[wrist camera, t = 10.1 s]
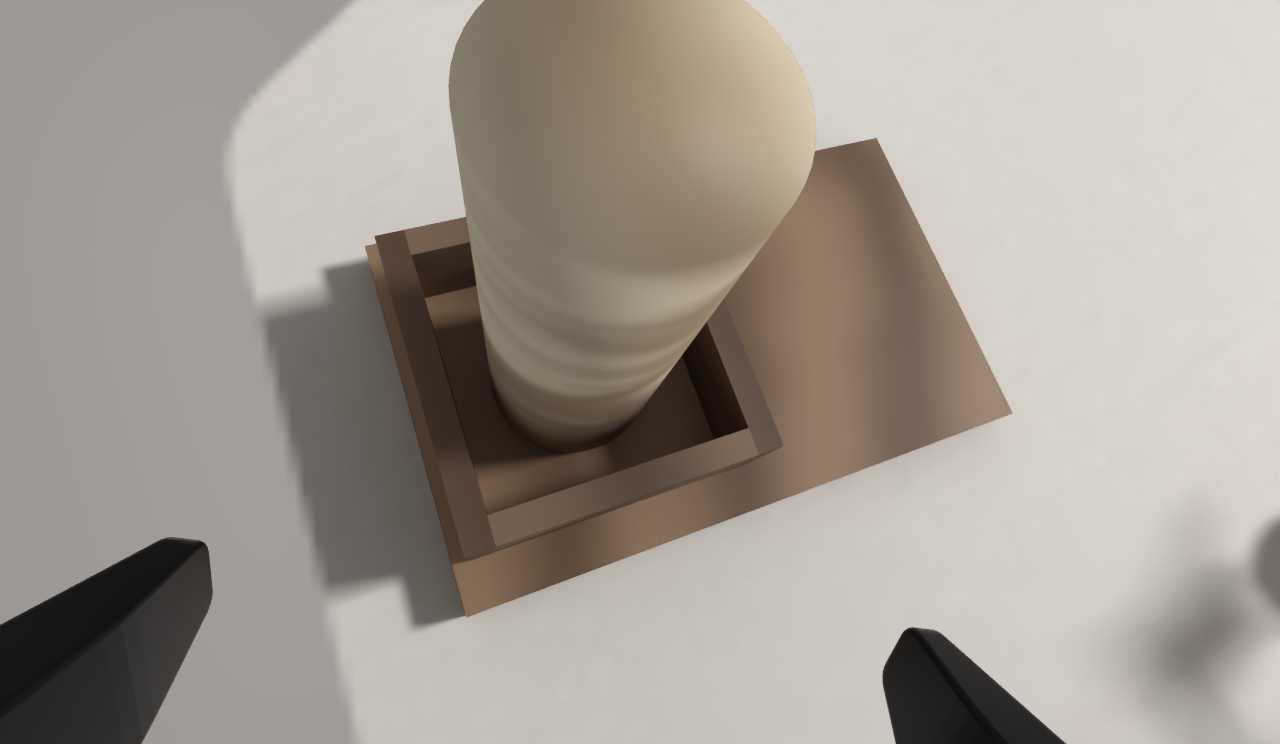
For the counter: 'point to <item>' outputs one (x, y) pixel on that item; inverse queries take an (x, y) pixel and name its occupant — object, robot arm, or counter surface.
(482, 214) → the post
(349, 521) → the counter surface
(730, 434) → the jig board
